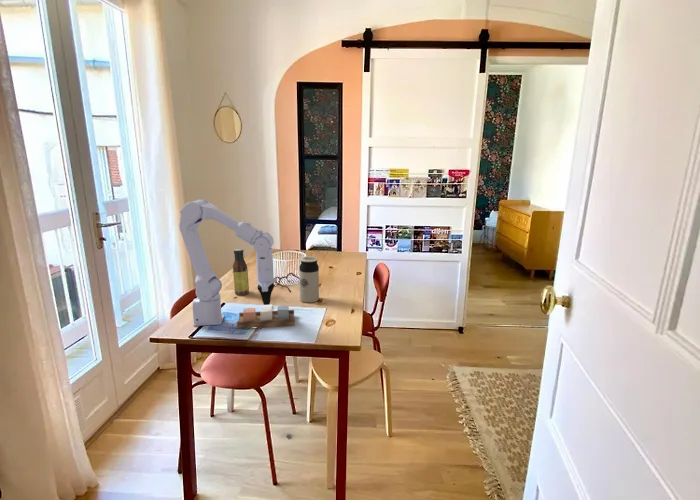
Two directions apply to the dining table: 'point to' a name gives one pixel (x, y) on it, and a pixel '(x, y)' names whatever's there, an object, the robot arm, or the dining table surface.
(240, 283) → the sauce bottle
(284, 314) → the grey cube
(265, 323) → the panel
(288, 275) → the glasses
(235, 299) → the dining table surface
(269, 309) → the cream cube
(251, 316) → the salmon pink cube
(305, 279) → the travel mug
